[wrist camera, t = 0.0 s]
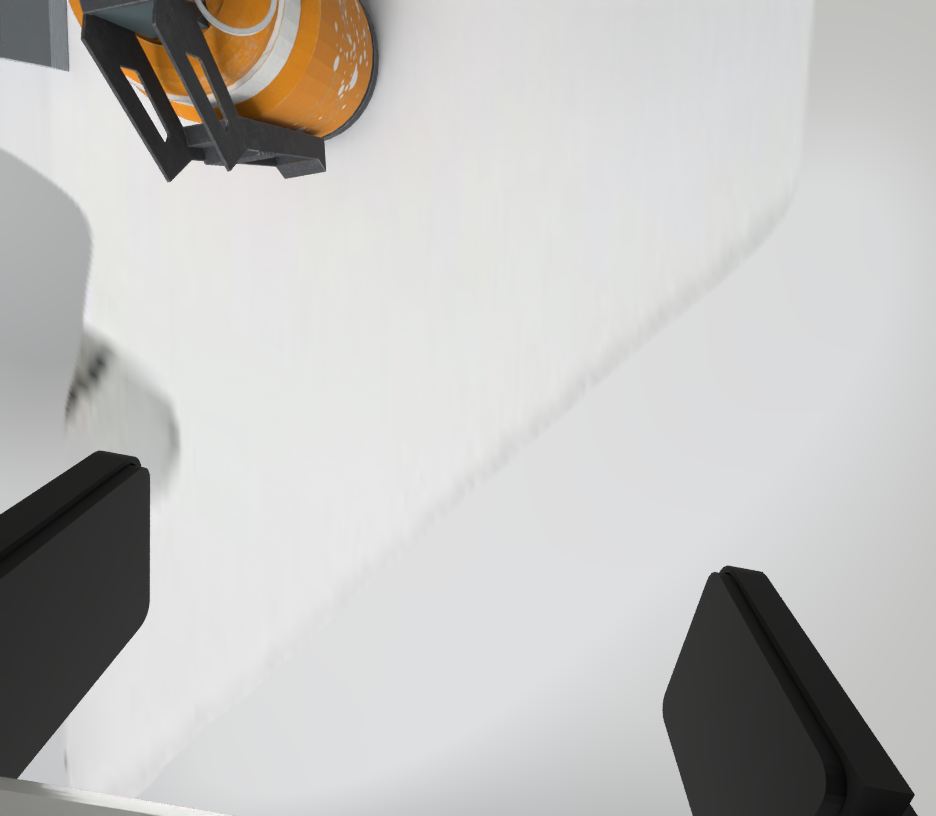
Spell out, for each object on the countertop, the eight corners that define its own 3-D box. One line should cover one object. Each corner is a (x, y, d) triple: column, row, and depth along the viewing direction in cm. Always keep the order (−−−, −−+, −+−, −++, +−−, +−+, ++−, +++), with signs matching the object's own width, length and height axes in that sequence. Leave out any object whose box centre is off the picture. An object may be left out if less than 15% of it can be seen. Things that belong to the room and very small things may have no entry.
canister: (362, -49, 34) (189, -340, 15) (401, 167, 37) (302, 150, 19) (206, -16, 35) (-142, -251, 16) (259, 192, 38) (27, 200, 20)
